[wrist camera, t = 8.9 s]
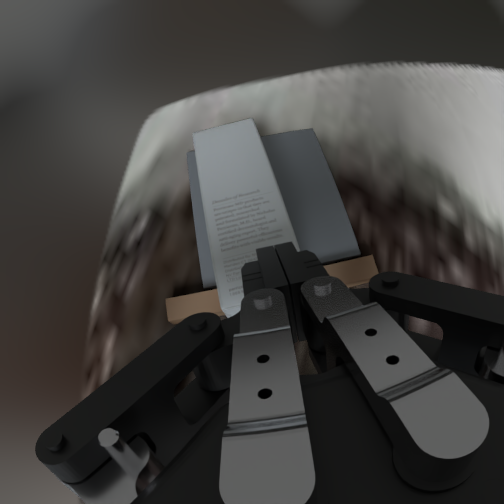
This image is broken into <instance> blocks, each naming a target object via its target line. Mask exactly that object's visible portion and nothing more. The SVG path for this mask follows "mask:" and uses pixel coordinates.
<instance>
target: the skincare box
mask: <svg viewBox="0 0 504 504" xmlns="http://www.w3.org/2000/svg"><path fill="white" fill-rule="evenodd" d="M193 141H194V149H195V156H196V163H197V170H198V177H199V184H200V191H201V197H202V204H203V210H204V216H205V222H206V228H207V234H208V240H209V246H210V252H211V258H212V264H213V269H214V275H215V280H216V285H217V291H218V296H219V302H220V307H221V309H222V311H223V312H224V313H225V315H226V316H227V317H228V318H229V317H231V316H233V315H235V314H236V313H238V312H239V311H240V310H241V301H242V299H243V298H244V292H243V283H242V275H241V269H242V267H243V266H244V264H245V263H247V262H252V261H257V260H258V258H257V254H256V249H258V248H262V247H267V246H272V245H273V247H274V245H276V244H281V243H286V242H291V241H292V243H293V244H294V246H295V248H296V250H297V251H298V252H299V251H300V249H299V245H298V242H297V239H296V236H295V233H294V230H293V227H292V224H291V221H290V219H289V216H288V213H287V210H286V207H285V204H284V201H283V198H282V195H281V192H280V190H279V187H278V184H277V181H276V178H275V175H274V173H273V170H272V167H271V164H270V161H269V159H268V156H267V153H266V150H265V148H264V145H263V143H262V140H261V138H260V135H259V132H258V130H257V127H256V124H255V122H254V119H253V118H249V119H245V120H241V121H237V122H233V123H229V124H225V125H221V126H217V127H213V128H209V129H206V130H202V131H198V132H194V133H193ZM274 249H275V248H274Z"/></svg>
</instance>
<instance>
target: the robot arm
mask: <svg viewBox="0 0 504 504" xmlns="http://www.w3.org/2000/svg"><path fill="white" fill-rule="evenodd" d="M274 248H275V249H274ZM256 254H257V258H258V260H257V261H252V262H247V263H245V264H244V266H243V267H242V269H241V275H242V283H243V292H244V298H243V299H242V301H241V310H240V311H239V312H238V313H236V314H235V315H233V316H231V317H229V318H227V319H224V320H222V321H221V320H220V318H219V316H218V315H216V314H214V313H211V312H201V313H196V314H193V315H191V316H188V317H187V318H185V319H184V320H182V321H181V322H180V323H178V324H177V325H176V326H175V327H174V328H172V329H171V330H170V331H169V332H167V333H166V334H165V335H164V336H162V337H161V338H160V339H159V340H157V341H156V342H155V343H154V344H152V345H151V346H150V347H149V348H148V349H146V350H145V351H144V352H143V353H141V354H140V355H139V356H138V357H136V358H135V359H134V360H133V361H131V362H130V363H129V364H128V365H126V366H125V367H124V368H123V369H121V370H120V371H119V372H118V373H116V374H115V375H114V376H113V377H111V378H110V379H109V380H108V381H106V382H105V383H104V384H103V385H101V386H100V387H99V388H98V389H96V390H95V391H94V392H93V393H91V394H90V395H89V396H88V397H86V398H85V399H84V400H83V401H81V402H80V403H79V404H78V405H76V406H75V407H74V408H72V409H71V410H70V411H69V412H67V413H66V414H65V415H64V416H62V417H61V418H60V419H59V420H57V421H56V422H55V423H54V424H52V425H51V426H50V427H48V428H47V429H46V430H45V431H44V432H43V433H42V434H41V435H40V437H39V438H38V440H37V443H36V448H35V451H36V455H37V457H38V459H39V460H40V461H41V462H42V463H43V464H44V465H45V466H46V467H47V468H48V469H49V470H50V471H51V472H52V473H54V474H55V475H56V477H57V479H58V480H60V481H61V482H62V483H63V484H64V485H65V486H66V487H67V488H69V489H70V490H71V491H72V492H74V493H75V494H76V495H77V496H78V497H80V498H81V499H82V500H83V501H84V502H85V503H86V504H504V296H501V295H496V294H492V293H487V292H483V291H479V290H474V289H470V288H466V287H461V286H457V285H452V284H448V283H443V282H439V281H435V280H430V279H426V278H421V277H417V276H412V275H408V274H403V273H398V272H383V273H379V274H377V275H375V276H373V277H372V278H371V279H370V281H369V288H361V289H349V288H348V287H347V286H346V285H345V284H344V283H343V282H342V281H341V280H340V279H339V278H336V277H333V276H330V275H329V274H328V272H327V271H326V269H325V268H324V266H323V265H322V263H321V262H320V260H319V259H318V258H317V256H316V255H315V253H312V252H310V251H308V250H304V251H299V252H298V251H297V250H296V248H295V246H294V244H293V243H292V241H291V242H286V243H281V244H276V245H274V247H273V245H272V246H267V247H262V248H258V249H256ZM409 316H413V317H417V318H420V319H424V320H427V321H431V322H434V323H437V324H438V325H439V326H440V327H441V328H442V330H443V339H442V340H439V339H435V338H432V337H429V336H425V335H422V334H419V333H415V332H412V331H409V330H408V323H409ZM296 333H297V336H298V339H299V341H304V340H307V342H308V348H309V355H310V358H311V360H312V362H313V364H314V366H315V368H316V370H317V372H318V374H313V375H299V374H298V368H297V362H296V356H295V346H294V343H296V342H297V336H296ZM192 370H193V372H194V374H195V377H196V378H195V379H194V380H193V381H192V382H191V383H190V384H189V385H188V386H187V387H186V388H184V389H183V390H182V391H181V392H180V393H179V394H178V395H177V396H176V397H175V398H174V390H175V388H176V386H177V384H178V383H179V382H180V381H181V380H183V379H184V378H185V377H186V376H187V375H188V374H189V373H190V372H191V371H192Z"/></svg>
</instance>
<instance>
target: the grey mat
mask: <svg viewBox="0 0 504 504" xmlns="http://www.w3.org/2000/svg"><path fill="white" fill-rule="evenodd" d="M260 138H261V140H262V143H263V145H264V148H265V150H266V153H267V156H268V159H269V161H270V164H271V167H272V170H273V173H274V175H275V178H276V181H277V184H278V187H279V190H280V192H281V195H282V198H283V201H284V204H285V207H286V210H287V213H288V216H289V219H290V221H291V224H292V227H293V230H294V233H295V236H296V239H297V242H298V245H299V249H300V251H304V250H308V251H310V252H312V253H315V255H316V256H317V258H318V259H319V260H320V262H321V263H322V265H323V264H328V263H332V262H336V261H341V260H345V259H349V258H354V257H358V256H360V255H361V253H360V250H359V247H358V244H357V241H356V238H355V235H354V232H353V230H352V227H351V224H350V221H349V218H348V216H347V213H346V210H345V207H344V205H343V202H342V199H341V197H340V194H339V191H338V189H337V186H336V184H335V181H334V179H333V176H332V174H331V171H330V169H329V166H328V164H327V161H326V159H325V156H324V154H323V152H322V149H321V147H320V144H319V142H318V140H317V137H316V135H315V133H314V131H313V128H311V129H304V130H298V131H291V132H285V133H279V134H273V135H268V136H262V137H260ZM187 162H188V171H189V181H190V190H191V198H192V207H193V215H194V223H195V231H196V238H197V246H198V253H199V260H200V267H201V274H202V281H203V288H204V289H205V290H206V289H211V288H216V287H217V285H216V280H215V275H214V269H213V264H212V258H211V252H210V246H209V240H208V234H207V228H206V222H205V216H204V210H203V204H202V197H201V191H200V184H199V177H198V170H197V163H196V156H195V151H192V152H187Z"/></svg>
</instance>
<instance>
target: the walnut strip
mask: <svg viewBox="0 0 504 504" xmlns="http://www.w3.org/2000/svg"><path fill="white" fill-rule="evenodd" d="M324 268H325V269H326V271H327V272H328V274H329V275H330V276H333V277H336V278H339V279H340V280H341V281H342V282H343V283H344V284H345V285H346V286H347V287H348V288H349V287H353V286H357V285H361V284H364V283H368V282H369V281H370V279H371V278H372V277H373V276H375V275H377V274H379V273H378V270H377V267H376V264H375V261H374V258H373V255H369V256H365V257H361V258H356V259H352V260H348V261H343V262H339V263H335V264H330V265H326V266H324ZM166 307H167V315H168V321H169V322H171V323H173V324H178V323H180V322H181V321H182V320H184V319H185V318H187V317H188V316H191V315H193V314H196V313H201V312H211V313H214V314H216V315H218V316H222V315H225V313H224V312H223V311H222V309H221V307H220V302H219V296H218V291H217V289H214V290H209V291H204V292H199V293H194V294H189V295H184V296H178V297H173V298H168V299H166Z"/></svg>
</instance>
